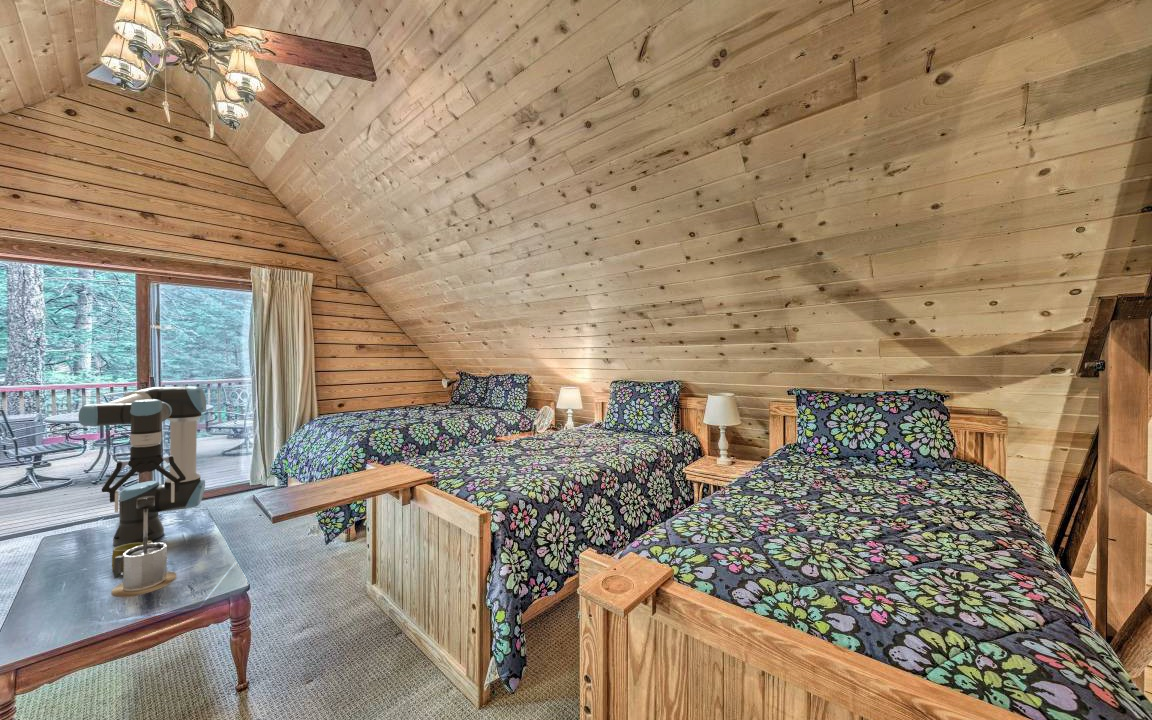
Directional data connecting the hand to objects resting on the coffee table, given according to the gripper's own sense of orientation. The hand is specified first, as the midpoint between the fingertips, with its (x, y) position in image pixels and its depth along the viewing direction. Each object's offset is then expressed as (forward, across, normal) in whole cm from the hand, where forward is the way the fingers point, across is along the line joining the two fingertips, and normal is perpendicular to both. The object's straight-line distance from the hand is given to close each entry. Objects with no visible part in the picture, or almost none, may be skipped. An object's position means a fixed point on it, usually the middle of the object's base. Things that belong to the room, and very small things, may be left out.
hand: (145, 506), depth 146 cm
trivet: (+28, 0, 0) cm, 28 cm away
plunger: (+17, 0, 0) cm, 17 cm away
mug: (+28, -2, +21) cm, 35 cm away
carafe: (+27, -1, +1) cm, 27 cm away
